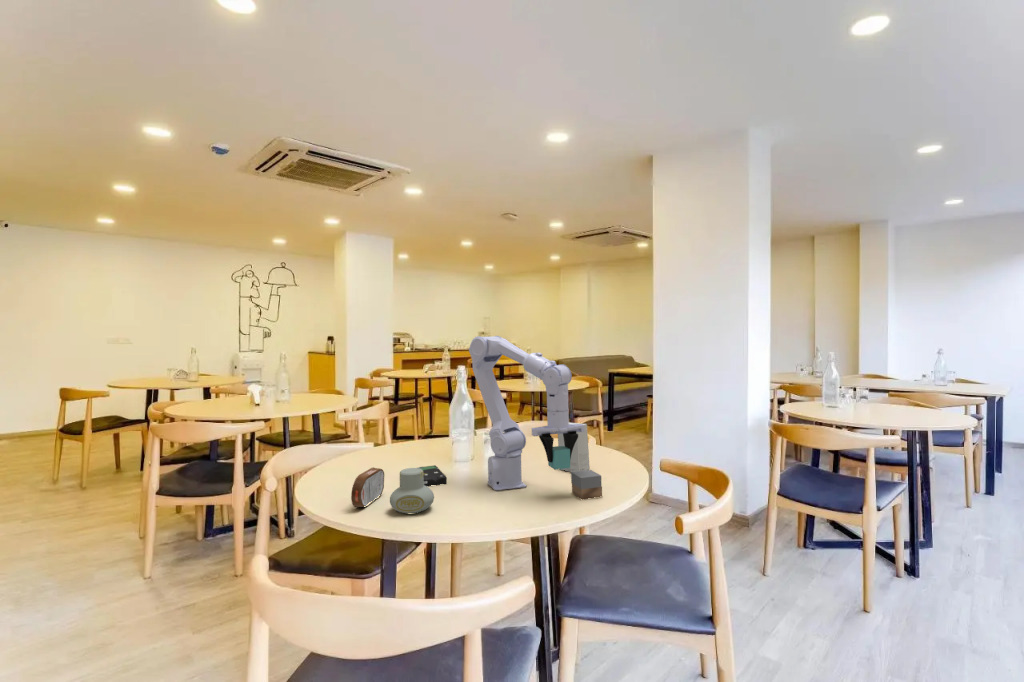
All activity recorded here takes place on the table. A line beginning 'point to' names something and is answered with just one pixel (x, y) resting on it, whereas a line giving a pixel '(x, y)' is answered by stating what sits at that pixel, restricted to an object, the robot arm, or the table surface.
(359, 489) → the tin
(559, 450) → the teal block
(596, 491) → the tower bottom
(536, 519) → the table surface
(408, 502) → the air freshener
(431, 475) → the disk drive
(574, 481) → the tower top
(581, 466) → the skincare box
